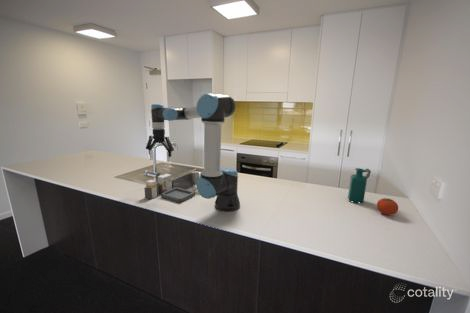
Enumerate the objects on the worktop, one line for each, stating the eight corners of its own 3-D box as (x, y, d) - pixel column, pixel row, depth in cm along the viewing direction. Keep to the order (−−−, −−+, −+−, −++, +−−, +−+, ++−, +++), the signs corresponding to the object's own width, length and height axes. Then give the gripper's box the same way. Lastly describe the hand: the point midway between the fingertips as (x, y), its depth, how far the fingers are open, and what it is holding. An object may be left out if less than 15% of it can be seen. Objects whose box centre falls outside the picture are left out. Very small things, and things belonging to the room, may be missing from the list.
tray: (195, 195, 146) (195, 192, 145) (180, 203, 134) (180, 199, 133) (176, 190, 154) (176, 187, 153) (161, 197, 142) (160, 193, 141)
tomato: (371, 209, 130) (374, 194, 128) (388, 210, 130) (391, 194, 128) (382, 218, 120) (385, 201, 118) (401, 218, 120) (404, 201, 118)
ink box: (163, 194, 147) (162, 177, 145) (158, 192, 150) (157, 176, 147) (172, 190, 155) (171, 174, 152) (167, 188, 157) (166, 173, 155)
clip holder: (174, 189, 156) (173, 174, 154) (150, 199, 138) (149, 183, 136) (169, 188, 159) (168, 173, 156) (145, 198, 141) (143, 181, 138)
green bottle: (349, 202, 140) (353, 169, 136) (347, 197, 148) (351, 166, 143) (366, 204, 137) (371, 171, 132) (363, 199, 145) (368, 168, 140)
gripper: (178, 129, 140) (179, 161, 145) (146, 127, 147) (148, 157, 152) (171, 130, 133) (173, 163, 138) (138, 128, 140) (140, 159, 145)
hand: (160, 160), depth 145 cm, fingers open, 13 cm apart
